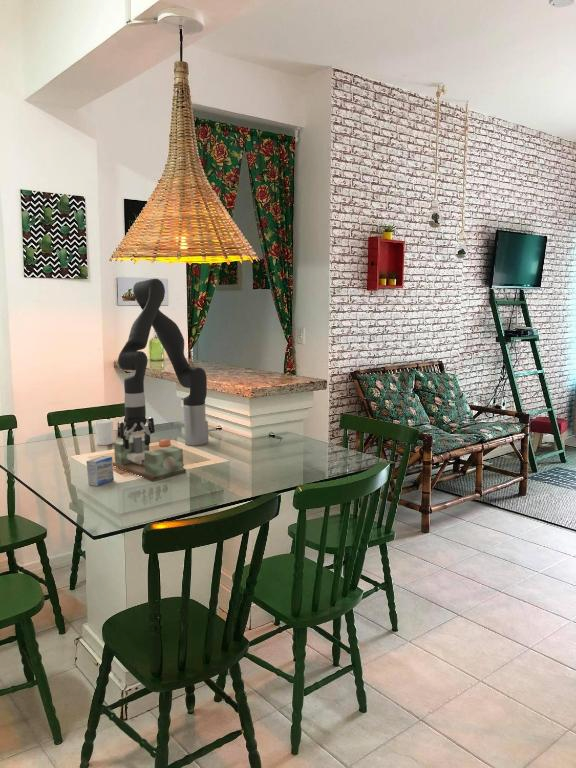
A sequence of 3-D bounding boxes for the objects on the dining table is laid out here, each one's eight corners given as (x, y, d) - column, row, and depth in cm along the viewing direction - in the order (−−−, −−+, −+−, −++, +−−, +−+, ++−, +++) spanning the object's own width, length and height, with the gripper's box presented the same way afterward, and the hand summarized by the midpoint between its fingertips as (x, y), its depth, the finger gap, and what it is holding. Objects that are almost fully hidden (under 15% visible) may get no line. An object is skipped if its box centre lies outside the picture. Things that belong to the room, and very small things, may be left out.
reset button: (166, 444, 228) (166, 438, 228) (172, 445, 225) (172, 440, 225) (156, 446, 225) (156, 440, 225) (163, 447, 222) (162, 442, 222)
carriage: (145, 458, 244) (144, 434, 243) (154, 461, 240) (152, 436, 238) (127, 462, 239) (125, 438, 237) (135, 465, 234) (133, 440, 233)
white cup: (106, 440, 284) (105, 418, 282) (118, 442, 279) (116, 420, 278) (92, 444, 278) (90, 421, 276) (103, 446, 273) (102, 423, 272)
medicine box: (97, 486, 216) (95, 462, 215) (87, 485, 218) (86, 460, 217) (114, 480, 223) (112, 456, 222) (104, 478, 225) (103, 455, 224)
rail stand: (145, 459, 250) (144, 436, 249) (186, 473, 230) (185, 448, 229) (112, 466, 241) (111, 443, 240) (152, 481, 220) (151, 456, 219)
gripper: (146, 401, 245) (148, 442, 247) (112, 405, 235) (114, 448, 237) (156, 403, 239) (158, 445, 241) (122, 408, 230) (124, 452, 232)
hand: (137, 446), depth 239 cm, fingers open, 8 cm apart
